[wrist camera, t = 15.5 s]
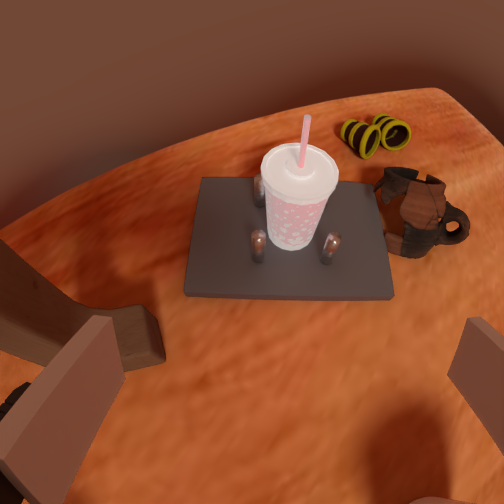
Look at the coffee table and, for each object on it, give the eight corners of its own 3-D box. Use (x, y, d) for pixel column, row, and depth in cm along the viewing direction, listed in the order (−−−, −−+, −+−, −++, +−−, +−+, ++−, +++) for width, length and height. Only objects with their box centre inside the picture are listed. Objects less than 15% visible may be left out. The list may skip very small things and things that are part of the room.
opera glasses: (385, 134, 42) (389, 106, 38) (408, 151, 39) (414, 121, 35) (336, 146, 40) (338, 115, 37) (359, 165, 37) (364, 132, 33)
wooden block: (157, 317, 28) (57, 198, 12) (168, 362, 26) (51, 284, 10) (78, 337, 27) (-52, 251, 11) (84, 380, 25) (-62, 322, 9)
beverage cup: (308, 267, 29) (341, 159, 17) (249, 243, 30) (245, 129, 18) (327, 219, 32) (360, 108, 19) (274, 198, 33) (281, 85, 21)
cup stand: (186, 296, 29) (173, 273, 24) (203, 183, 36) (197, 152, 31) (389, 300, 28) (411, 278, 24) (369, 190, 35) (382, 160, 31)
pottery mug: (355, 246, 32) (368, 172, 28) (375, 218, 39) (386, 159, 35) (457, 281, 26) (483, 207, 22) (457, 246, 33) (475, 186, 29)
